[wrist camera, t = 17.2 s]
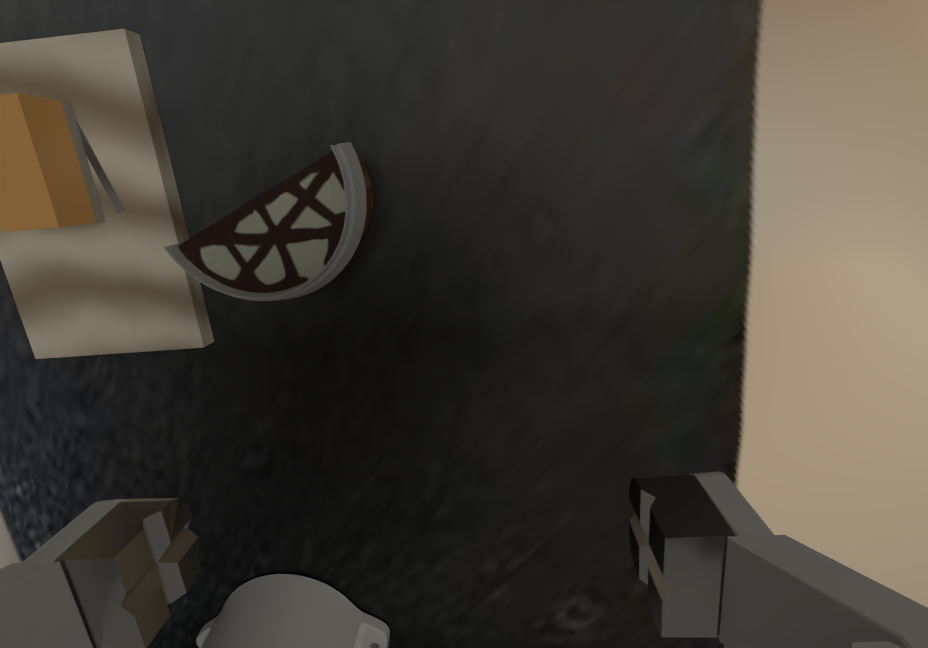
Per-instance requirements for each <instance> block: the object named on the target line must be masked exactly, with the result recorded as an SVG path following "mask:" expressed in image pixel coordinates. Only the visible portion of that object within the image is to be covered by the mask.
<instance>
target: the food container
mask: <svg viewBox="0 0 928 648" xmlns="http://www.w3.org/2000/svg"><path fill="white" fill-rule="evenodd" d="M331 149H332V151H333V152H331V153H329V154H327V155H325V156H323V157H322V158H320V159H319V160H318V161H316V162H315V163H313V164H312V165H310V166H309V167H307V168H305V169H304V170H302V171H300V172H298V173H297V174H295V175H293V176H292V177H290V178H288V179H287V180H285V181H283V182H282V183H280V184H278V185H277V186H275V187H273V188H271V189H270V190H268V191H266V192H264V193H263V194H261V195H259V196H257V197H256V198H254V199H252V200H250V201H249V202H247V203H246V204H244V205H243V206H241V207H240V208H238V209H237V210H235V211H234V212H232V213H230V214H229V215H227V216H225V217H224V218H222V219H221V220H219V221H217V222H216V223H214V224H212V225H211V226H209V227H208V228H206V229H204V230H203V231H201V232H199V233H198V234H196V235H194V236H193V237H191V238H190V239H188V240H186V241H185V242H182V243H178V244H174V245H170V246H167V247H164V249H165V250H166V251H167V253H168V254H169V255H170V256H171V258H172V259H173V260H174V261H175V262H176V263H177V264H178V265H179V266H180V267H181V268H182V269H183V270H184V271H185V272H187V273H188V274H189V275H191V276H192V277H193V278H195V279H196V280H198V281H199V282H201V283H203V284H204V285H206V286H208V287H210V288H212V289H214V290H216V291H219V292H222V293H224V294H227V295H230V296H232V297H236V298H241V299H245V300H252V301H274V300H285V299H293V298H297V297H300V296H304V295H307V294H309V293H311V292H314V291H316V290H318V289H320V288H321V287H323V286H324V285H326V284H327V283H329V282H330V281H332V280H333V279H334V278H335V277H336V276H337V275H338V274H339V273H340V272H341V271H342V270H343V269H344V268H345V266H346V265H347V264H348V262H349V261H350V260H351V258H352V257H353V255H354V253H355V251H356V249H357V247H358V245H359V242H360V239H361V238H362V236H363V235H364V234H365V232H366V230H367V228H368V226H369V224H370V220H371V217H372V213H373V206H374V192H373V186H372V181H371V178H370V175H369V171H368V169H367V167H366V165H365V163H364V161H363V160H362V159H360V158H358V157H357V155H356V152H355V150H354V148H353V146H352V144H351V142H349V143H339V144H337V145H331Z"/></svg>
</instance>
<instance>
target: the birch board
mask: <svg viewBox="0 0 928 648" xmlns="http://www.w3.org/2000/svg"><path fill="white" fill-rule="evenodd" d="M11 93H21V94H26V95H32V96H38V97H43V98H49V99H55V100H61V101H66V102H71V105H72V108H73V112H74V115H75V119H76V122H77V126H78V129H79V133H80V136H81V139H82V143H83V146H84V150H85V153H86V157H87V160H88V164H89V167H90V171H91V174H92V178H93V181H94V185H95V188H96V191H97V195H98V198H99V202H100V205H101V209H102V212H103V216H104V219H105V222H99V223H90V224H82V225H74V226H66V227H57V228H45V229H34V230H23V231H11V232H2V231H1V228H0V260H1V263H2V266H3V268H4V271H5V274H6V277H7V280H8V283H9V285H10V288H11V291H12V294H13V297H14V299H15V302H16V305H17V308H18V311H19V313H20V316H21V319H22V322H23V325H24V328H25V330H26V333H27V336H28V339H29V342H30V344H31V347H32V350H33V353H34V356H35V358H36V359H42V358H57V357H71V356H86V355H101V354H115V353H130V352H145V351H159V350H174V349H189V348H203V347H206V346H207V345H209V344H211V343H212V342H214V338H213V334H212V330H211V325H210V321H209V317H208V313H207V309H206V305H205V301H204V297H203V293H202V288H201V284H200V282H199V281H198V280H196V279H195V278H193V277H192V276H191V275H189V274H188V273H187V272H185V271H184V270H183V269H182V268H181V267H180V266H179V265H178V264H177V263H176V262H175V261H174V260H173V259H172V258H171V256H170V255H169V254H168V253H167V251H166V250H165V249H164V247H167V246H170V245H174V244H178V243H182V242H185V241H186V240H188V239H189V235H188V231H187V227H186V223H185V218H184V214H183V210H182V206H181V202H180V198H179V194H178V190H177V186H176V181H175V177H174V173H173V169H172V165H171V161H170V157H169V153H168V148H167V144H166V140H165V136H164V132H163V128H162V124H161V120H160V116H159V111H158V107H157V103H156V99H155V95H154V91H153V87H152V83H151V79H150V74H149V70H148V66H147V62H146V58H145V54H144V50H143V46H142V41H141V37H140V35H139V34H136V33H134V32H131V31H129V30H126V29H118V30H109V31H101V32H92V33H84V34H75V35H67V36H58V37H50V38H41V39H33V40H24V41H15V42H7V43H0V95H2V94H11Z"/></svg>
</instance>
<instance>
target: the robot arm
mask: <svg viewBox="0 0 928 648" xmlns="http://www.w3.org/2000/svg"><path fill="white" fill-rule="evenodd" d="M629 499H630V501H631V504H632V506H633V509H634V511H635V514H634V515H633V516H632V518H631V519H630V520H629V538H630V546H631V554H632V557H633V561H634V565H635V568H636V571H637V574H638V577H639V579H640V580H642V581H643V582H644V583H646V584H647V585H648V600H647V601H648V603H649V606H650V609H651V611H652V614H653V616H654V619H655V622H656V624H657V627H658V629H659V632H660V635H661V637H719V641H720V642H721V643H723V644H724V645H725V646H726V647H727V648H928V608H927V607H924V606H923V605H921V604H919V603H917V602H915V601H913V600H911V599H909V598H907V597H905V596H903V595H901V594H899V593H897V592H895V591H893V590H892V589H890V588H888V587H885V586H884V585H882V584H879V583H878V582H876V581H874V580H872V579H870V578H868V577H866V576H864V575H862V574H860V573H858V572H856V571H854V570H852V569H850V568H848V567H846V566H844V565H843V564H841V563H839V562H837V561H835V560H833V559H831V558H829V557H827V556H825V555H823V554H821V553H819V552H817V551H815V550H813V549H811V548H809V547H807V546H805V545H803V544H801V543H799V542H797V541H795V540H793V539H792V538H790V537H787V536H786V535H774V534H773V533H772V532H771V530H770V529H769V528H768V526H767V525H766V524H765V523H764V521H763V520H762V519H761V518H760V517H759V515H758V514H757V513H756V512H755V510H754V509H753V508H752V507H751V505H750V504H749V503H748V502H747V501H746V499H745V498H744V497H743V496H742V494H741V493H740V492H739V491H738V489H737V488H736V487H735V486H734V484H733V483H732V482H731V481H730V480H729V478H728V477H727V476H726V475H725V474H723V473H721V472H709V473H696V474H690V475H676V476H659V477H643V478H631V482H630V492H629ZM191 519H192V515H191V512H190V509H189V506H188V503H187V502H186V501H184V500H182V499H180V498H153V499H129V500H127V499H117V500H104V501H100V502H96V503H94V504H92V505H91V506H90V507H89V508H87V509H86V510H85V511H84V512H83V513H81V514H80V515H79V516H78V517H77V518H75V519H74V520H73V521H72V522H70V523H69V524H68V525H67V526H66V527H64V528H63V529H62V530H61V531H60V532H58V533H57V534H56V535H55V536H53V537H52V538H51V539H50V540H49V541H47V542H46V543H45V544H44V545H42V546H41V547H40V548H39V549H38V550H36V551H35V552H34V553H33V554H32V555H30V556H29V557H28V558H27V559H25V560H24V561H23V562H22V563H12V564H10V565H8V566H6V567H4V568H2V569H0V648H147V646H148V645H149V644H150V642H151V641H152V639H153V638H154V637H155V635H156V634H157V633H158V631H159V630H160V628H161V627H162V626H163V624H164V623H165V622H166V620H167V619H168V617H169V616H170V615H171V609H170V604H171V603H172V602H173V601H175V600H176V599H178V598H179V597H181V596H182V595H184V594H185V593H187V591H188V590H189V588H190V587H191V585H192V584H193V582H194V581H195V579H196V577H197V573H198V570H199V567H200V564H201V547H200V543H199V539H198V537H197V536H196V535H195V534H194V533H193V532H191V531H190V530H189V529H188V528H187V527H188V525H189V523H190V521H191ZM389 637H390V630H389V627H388V626H387V625H386V624H385V623H384V622H383V621H381V620H379V619H377V618H375V617H373V616H371V615H368V614H366V613H364V612H362V611H361V610H359V609H358V608H357V607H356V606H355V605H354V604H352V603H351V602H350V601H349V600H348V599H347V598H346V597H345V596H344V595H343V594H341V593H340V592H338V591H337V590H335V589H334V588H332V587H330V586H329V585H327V584H325V583H322V582H320V581H318V580H315V579H312V578H308V577H304V576H299V575H292V574H273V575H266V576H262V577H258V578H255V579H252V580H250V581H248V582H246V583H244V584H243V585H241V586H240V587H238V588H237V589H236V590H235V591H234V592H233V593H232V594H231V595H230V596H229V598H228V599H227V601H226V602H225V604H224V606H223V608H222V610H221V612H220V614H219V615H218V616H217V617H215V618H214V619H212V620H211V621H209V622H208V623H207V624H205V625H204V626H203V627H202V629H201V631H200V633H199V635H198V637H197V639H196V642H197V645H198V647H199V648H389Z"/></svg>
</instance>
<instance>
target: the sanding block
mask: <svg viewBox="0 0 928 648" xmlns="http://www.w3.org/2000/svg"><path fill="white" fill-rule="evenodd" d="M99 222H105V219H104V216H103V212H102V209H101V205H100V202H99V198H98V195H97V191H96V188H95V185H94V181H93V178H92V174H91V171H90V167H89V164H88V160H87V157H86V153H85V150H84V146H83V143H82V139H81V136H80V133H79V129H78V126H77V122H76V119H75V115H74V112H73V108H72V105H71V102H66V101H61V100H55V99H49V98H43V97H38V96H32V95H26V94H21V93H11V94H2V95H0V228H1V231H2V232H11V231H23V230H34V229H45V228H57V227H66V226H74V225H82V224H90V223H99Z"/></svg>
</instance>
